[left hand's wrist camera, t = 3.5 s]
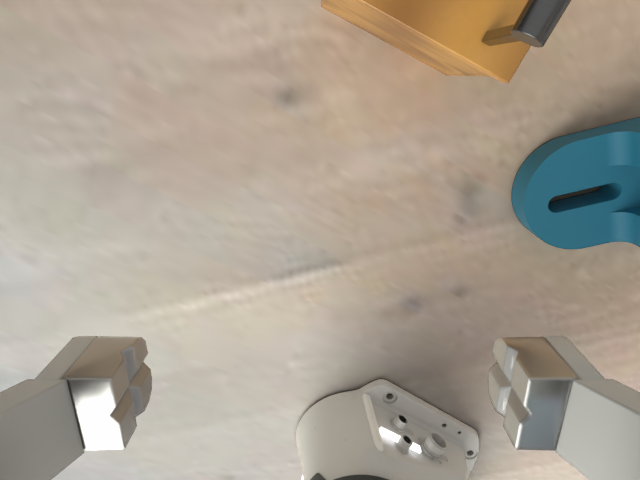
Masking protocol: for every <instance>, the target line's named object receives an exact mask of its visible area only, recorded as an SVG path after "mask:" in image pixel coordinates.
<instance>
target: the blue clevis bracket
mask: <svg viewBox="0 0 640 480" xmlns="http://www.w3.org/2000/svg"><path fill="white" fill-rule="evenodd" d="M601 185H602V187H601V188H600V189H599V190H598V191H596V192H592V193H588V194H584V195H579V196H575V197H571V198H567V199H562V200H558V201H554V202H549V201H550V200H551V199H552V198H553V197H555V196H559V195H563V194H567V193H571V192H576V191H580V190H584V189H588V188H593V187H597V186H601ZM512 205H513V209H514V212H515V214H516V216H517V218H518V219H519V221H520V222H521V223H522V224H523V226H525V227H526V228H527V229H528V230H529V231H531V232H532V233H533V234H535V235H536V236H537V237H539V238H540V239H541V240H543V241H544V242H546V243H548V244H550V245H552V246H555V247H558V248H563V249H581V248H586V247H591V246H595V245H600V244H604V243H609V242H616V241H622V242H630V243H633V244H635V245H637V246H639V247H640V117H638V118H634V119H630V120H625V121H621V122H617V123H613V124H609V125H605V126H601V127H597V128H593V129H589V130H585V131H581V132H577V133H573V134H569V135H565V136H561V137H558V138H555V139H552V140H550V141H548V142H546V143H545V144H543V145H541V146H540V147H539V148H537V149H536V150H535V151H534V152H533V153H531V154H530V155H529V157H528V158H527V159H526V160H525V161H524V163H523V164H522V166H521V167H520V169H519V171H518V173H517V175H516V177H515V180H514V183H513V187H512Z"/></svg>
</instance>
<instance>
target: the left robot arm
mask: <svg viewBox="0 0 640 480" xmlns="http://www.w3.org/2000/svg"><path fill="white" fill-rule="evenodd" d="M147 354H148V351H147V346H146V341H145V340H144V339H143V338H142V337H108V336H100V337H98V336H78V337H74V338H72V339H71V340H70V342H69V343H68V344H67V345H66V346H65V347H64V348H63V349H62V350H61V351H60V352H59V353H58V354H57V356H56V357H55V358H54V359H53V360H52V361H51V362H50V363H49V364H48V365H47V366H46V367H45V368H44V370H43V371H42V372H41V373H40V374H39V375H38V376H37V377H36V378H35V379H27V380H25V381H23V382H21V383H19V384H17V385H15V386H12V387H10V388H8V389H6V390H4V391H2V392H0V480H51V479H52V478H54V477H55V476H56V475H57V474H59V473H60V472H61V471H62V470H63V469H65V468H66V467H67V466H68V465H70V464H71V463H72V462H73V461H75V460H76V459H77V458H78V457H79V456H81V455H82V454H83V453H84V450H118V449H125V448H126V446H127V444H128V442H129V440H130V438H131V436H132V434H133V432H134V430H135V428H136V426H137V424H136V418H135V417H136V416H138V415H139V414H141V413H142V412H144V411H145V409H146V407H147V404H148V402H149V399H150V395H151V390H152V376H151V369H150V368H149V367H148V366H147V365H146V364H145V363H144V362H143V361H144V359H145V357H146V356H147ZM492 354H493V356H494V357H495V359H496V361H497V362H496V363H495V364H494V365H493V366H492V367H491V368H490V369H489V377H488V388H489V396H490V399H491V402H492V405H493V407H494V409H495V411H496V412H498V413H499V414H501V415H502V416H504V417H505V419H504V424H503V426H504V428H505V430H506V432H507V434H508V436H509V438H510V440H511V442H512V444H513V446H514V447H515V449H520V450H556V453H557V454H558V455H560V456H561V457H562V458H563V459H564V460H566V461H567V462H568V463H569V464H571V465H572V466H573V467H574V468H575V469H577V470H578V471H579V472H580V473H582V474H583V475H584V476H585V477H586V478H588V479H589V480H640V392H638V391H636V390H634V389H632V388H630V387H628V386H625V385H623V384H621V383H619V382H617V381H615V380H613V379H605V378H604V377H603V376H602V375H601V374H600V373H599V372H598V371H597V370H596V368H595V367H594V366H593V365H592V364H591V363H590V362H589V361H588V360H587V359H586V358H585V357H584V355H583V354H582V353H581V352H580V351H579V350H578V349H577V348H576V347H575V346H574V345H573V344H572V343H571V341H570V340H569V339H568V338H566V337H563V336H545V337H514V338H496V340H495V342H494V345H493V351H492ZM389 393H390V394H391V395H387V394H389ZM295 440H296V447H297V450H298V453H299V457H300V460H301V465H302V472H303V475H302V480H468V476H469V474H470V473H471V471H472V469H473V467H474V465H475V463H476V460H477V457H478V453H479V437H478V434H477V431H476V430H474V429H473V428H471V427H470V426H468V425H466V424H464V423H462V422H461V421H459V420H457V419H455V418H454V417H452V416H450V415H448V414H446V413H445V412H443V411H441V410H439V409H437V408H436V407H434V406H432V405H430V404H428V403H427V402H425V401H423V400H421V399H419V398H418V397H416V396H414V395H412V394H411V393H409V392H407V391H405V390H403V389H402V388H400V387H398V386H396V385H394V384H393V383H391V382H389V381H387V380H384V379H378V380H375V381H373V382H371V383H369V384H367V385H365V386H363V387H362V388H360V389H357V390H353V391H348V392H342V393H337V394H334V395H331V396H328V397H326V398H324V399H322V400H320V401H319V402H317V403H316V404H314V405H313V406H312V407H310V408H309V409H308V410H307V411H306V413H305V414H304V415H303V416H302V418H301V420H300V422H299V424H298V426H297V430H296V437H295ZM469 450H470V451H469Z"/></svg>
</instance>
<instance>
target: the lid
mask: <svg viewBox="0 0 640 480" xmlns="http://www.w3.org/2000/svg"><path fill="white" fill-rule="evenodd" d="M354 1H356V2H357V3H359V4H361V5H363V6H365V7H366V8H368V9H370V10H372V11H374V12H375V13H377V14H379V15H381V16H383V17H384V18H386V19H388V20H390V21H392V22H393V23H395V24H397V25H399V26H401V27H402V28H404V29H406V30H408V31H410V32H411V33H413V34H415V35H417V36H419V37H420V38H422V39H424V40H426V41H428V42H429V43H431V44H433V45H435V46H437V47H438V48H440V49H442V50H444V51H446V52H447V53H449V54H451V55H453V56H455V57H456V58H458V59H460V60H462V61H464V62H465V63H467V64H469V65H471V66H473V67H474V68H476V69H478V70H480V71H482V72H483V73H485V74H487V75H489V76H491V77H492V78H494V79H496V80H498V81H500V82H504V83H508V82H509V81H510V80H511V78H512V76H513V75H514V73H515V71H516V70H517V68H518V66H519V65H520V63H521V61H522V60H523V58H524V56H525V55H526V53H527V51H528V50H529V48H530V46H534V47H543V46H544V44H545V43H546V41H547V39H548V38H549V36H550V34H551V33H552V31H553V29H554V28H555V26H556V25H557V23H558V21H559V20H560V18H561V16H562V15H563V13H564V11H565V10H566V8H567V7H568V5H569V3H570V2H571V0H354Z"/></svg>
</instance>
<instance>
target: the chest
mask: <svg viewBox="0 0 640 480" xmlns="http://www.w3.org/2000/svg"><path fill="white" fill-rule="evenodd" d="M322 7H323V8H325V9H327V10H328V11H330V12H332V13H334V14H336V15H338V16H339V17H341V18H343V19H345V20H347V21H349V22H350V23H352V24H354V25H356V26H358V27H359V28H361V29H363V30H365V31H367V32H369V33H370V34H372V35H374V36H376V37H378V38H380V39H381V40H383V41H385V42H387V43H389V44H391V45H392V46H394V47H396V48H398V49H400V50H402V51H403V52H405V53H407V54H409V55H411V56H412V57H414V58H416V59H418V60H420V61H422V62H423V63H425V64H427V65H429V66H431V67H433V68H434V69H436V70H438V71H440V72H442V73H444V74H445V75H458V76H489V75H487V74H485V73H483V72H482V71H480V70H478V69H476V68H474V67H473V66H471V65H469V64H467V63H465V62H464V61H462V60H460V59H458V58H456V57H455V56H453V55H451V54H449V53H447V52H446V51H444V50H442V49H440V48H438V47H437V46H435V45H433V44H431V43H429V42H428V41H426V40H424V39H422V38H420V37H419V36H417V35H415V34H413V33H411V32H410V31H408V30H406V29H404V28H402V27H401V26H399V25H397V24H395V23H393V22H392V21H390V20H388V19H386V18H384V17H383V16H381V15H379V14H377V13H375V12H374V11H372V10H370V9H368V8H366V7H365V6H363V5H361V4H359V3H357V2H356V1H354V0H322Z"/></svg>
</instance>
